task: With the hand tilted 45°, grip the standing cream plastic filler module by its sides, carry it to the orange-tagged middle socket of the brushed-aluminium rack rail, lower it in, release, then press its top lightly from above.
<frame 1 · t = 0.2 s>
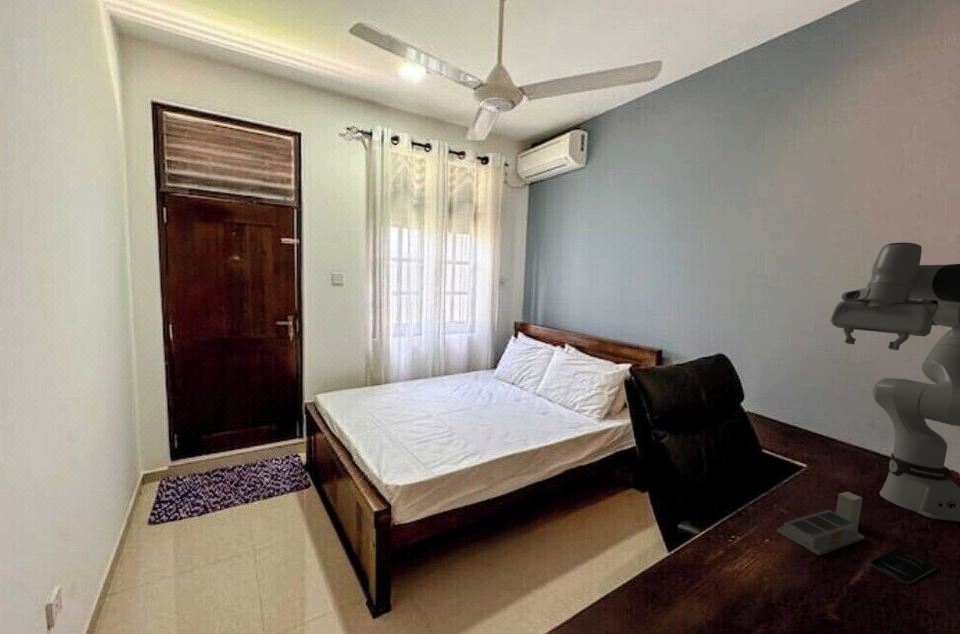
hand: (870, 346, 111), 52 cm above the table, tool tilted 20°, fingers open, 8 cm apart
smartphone: (902, 568, 99), on the table
rack: (819, 535, 110), on the table
module: (846, 522, 117), on the table
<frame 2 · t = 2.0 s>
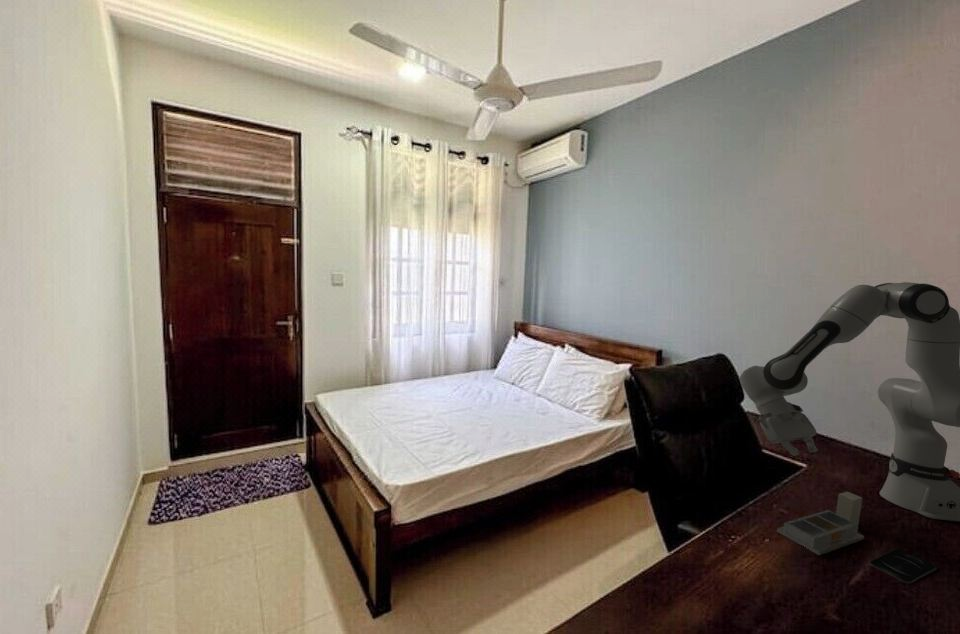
hand: (805, 453, 127), 15 cm above the table, tool tilted 45°, fingers open, 8 cm apart
nothing on the table moved.
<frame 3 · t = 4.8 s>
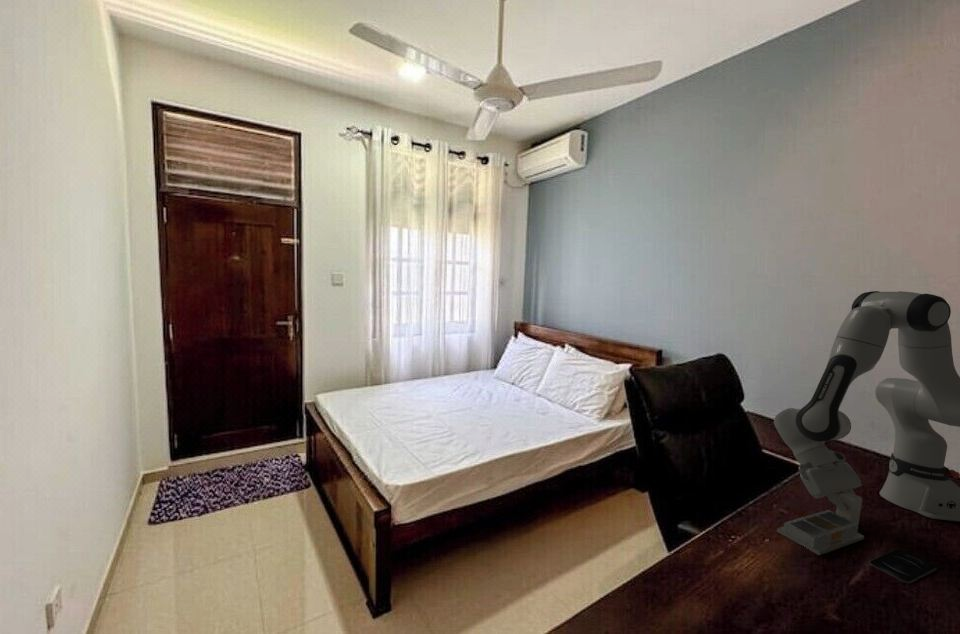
hand: (851, 508, 116), 4 cm above the table, tool tilted 45°, fingers closed on module, 4 cm apart
module: (846, 522, 117), on the table, touching gripper
everything else where it was.
when the fingers open (6 cm above the table, at t = 9.8 s): module stays where it is, resting on rack.
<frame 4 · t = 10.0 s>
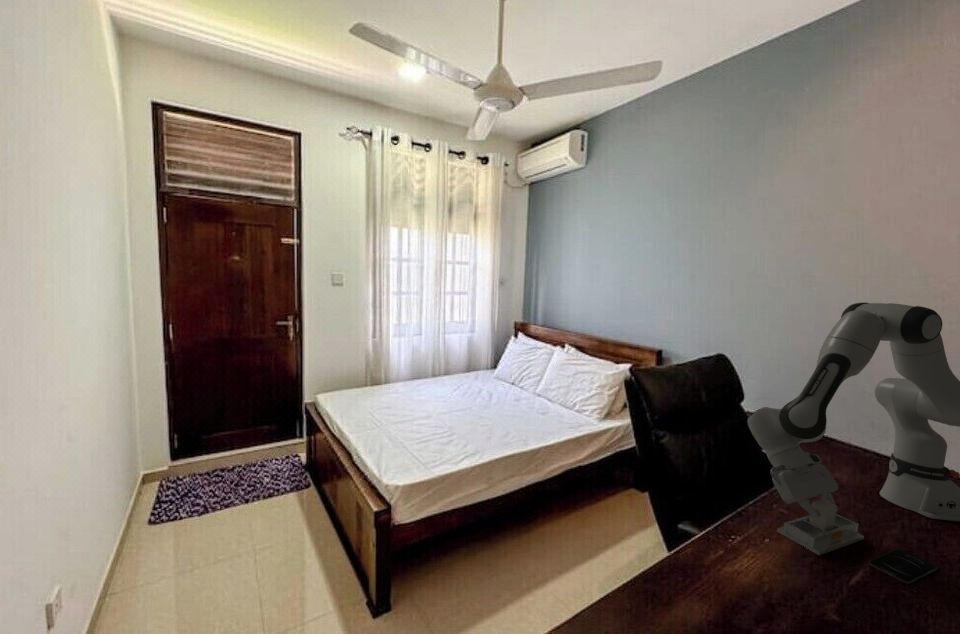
hand: (826, 514, 109), 6 cm above the table, tool tilted 45°, fingers open, 7 cm apart
module: (820, 531, 110), point 1 cm above the table, touching rack
everything else where it was.
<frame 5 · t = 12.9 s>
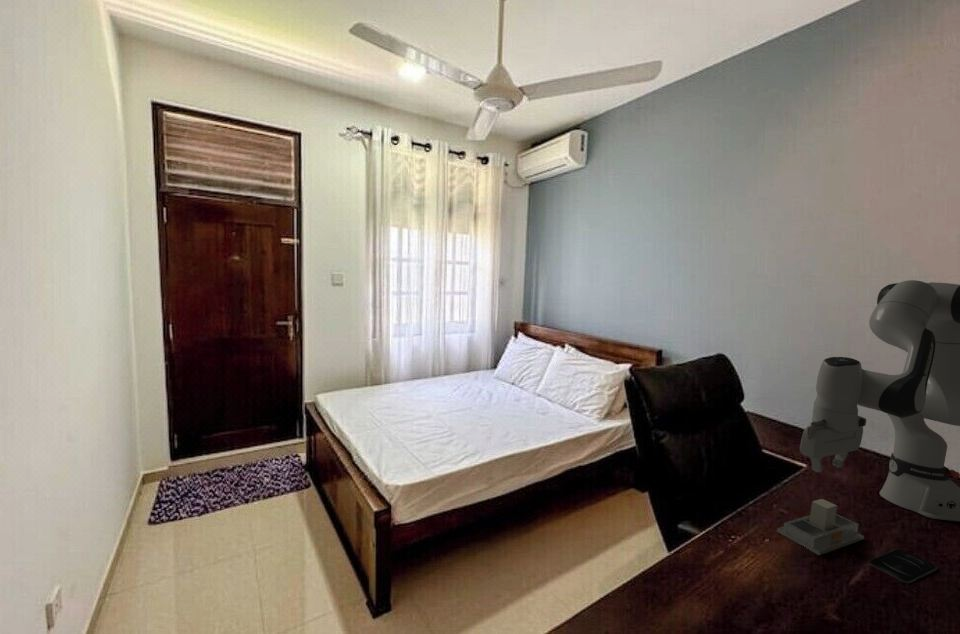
hand: (827, 468, 109), 19 cm above the table, tool pointing down, fingers open, 8 cm apart
nothing on the table moved.
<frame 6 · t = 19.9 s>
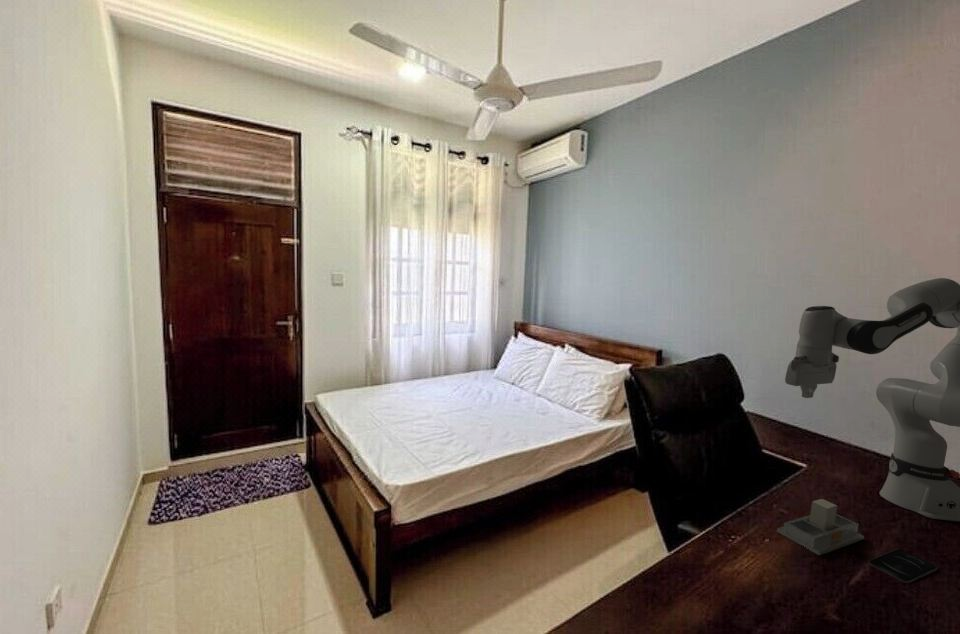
hand: (807, 397, 133), 31 cm above the table, tool pointing down, fingers closed
nothing on the table moved.
at the end: module 0.1 cm off-centre on the rack, point 1.1 cm above the rack's base; module tilted 0°; the gripper is holding nothing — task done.
